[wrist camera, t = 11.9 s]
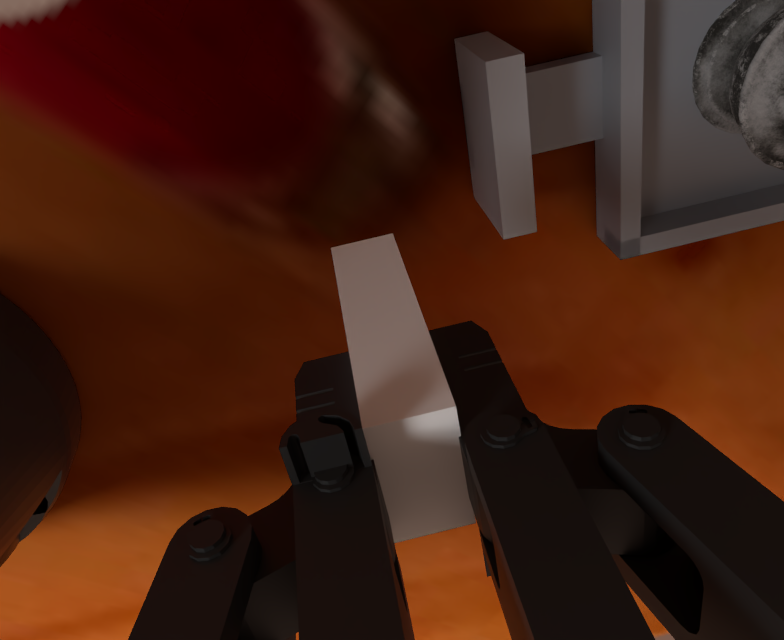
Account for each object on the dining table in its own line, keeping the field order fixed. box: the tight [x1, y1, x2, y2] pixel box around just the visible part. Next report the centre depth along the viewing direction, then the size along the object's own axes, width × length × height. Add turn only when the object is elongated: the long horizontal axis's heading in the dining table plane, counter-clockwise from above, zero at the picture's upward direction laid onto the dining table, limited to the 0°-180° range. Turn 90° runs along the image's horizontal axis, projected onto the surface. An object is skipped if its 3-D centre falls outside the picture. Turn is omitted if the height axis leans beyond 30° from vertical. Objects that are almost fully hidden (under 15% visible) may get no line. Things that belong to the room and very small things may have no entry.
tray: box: [454, 0, 784, 260], centre depth 24 cm, size 17×12×4 cm
